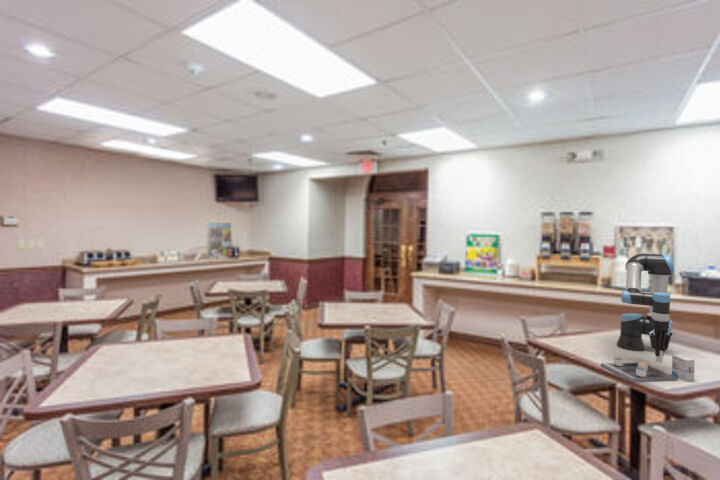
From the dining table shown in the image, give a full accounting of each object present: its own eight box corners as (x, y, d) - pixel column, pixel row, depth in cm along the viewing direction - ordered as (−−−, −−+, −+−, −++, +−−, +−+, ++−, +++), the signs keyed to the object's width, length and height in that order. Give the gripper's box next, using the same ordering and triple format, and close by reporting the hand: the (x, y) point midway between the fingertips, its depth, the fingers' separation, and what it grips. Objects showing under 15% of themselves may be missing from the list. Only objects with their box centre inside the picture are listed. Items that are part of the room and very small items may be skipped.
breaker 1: (618, 363, 208) (618, 357, 208) (622, 365, 205) (623, 359, 205) (613, 363, 208) (614, 357, 207) (618, 365, 205) (618, 359, 204)
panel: (641, 364, 211) (641, 362, 211) (677, 380, 189) (677, 377, 189) (600, 366, 209) (600, 363, 209) (632, 382, 187) (632, 379, 187)
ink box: (670, 375, 197) (671, 354, 196) (679, 374, 197) (679, 353, 197) (686, 381, 188) (686, 359, 188) (694, 381, 189) (695, 359, 188)
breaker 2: (641, 374, 193) (641, 367, 193) (645, 376, 190) (646, 369, 190) (635, 374, 193) (636, 367, 192) (640, 376, 190) (640, 370, 189)
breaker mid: (642, 368, 201) (642, 362, 201) (647, 370, 198) (647, 364, 198) (637, 368, 201) (638, 362, 201) (642, 370, 198) (642, 364, 198)
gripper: (664, 318, 204) (663, 359, 204) (643, 318, 202) (642, 359, 203) (677, 321, 196) (676, 364, 197) (655, 321, 195) (654, 364, 195)
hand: (659, 361), depth 200 cm, fingers closed
